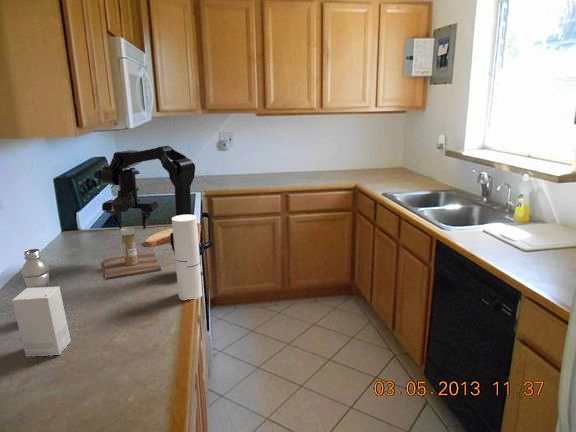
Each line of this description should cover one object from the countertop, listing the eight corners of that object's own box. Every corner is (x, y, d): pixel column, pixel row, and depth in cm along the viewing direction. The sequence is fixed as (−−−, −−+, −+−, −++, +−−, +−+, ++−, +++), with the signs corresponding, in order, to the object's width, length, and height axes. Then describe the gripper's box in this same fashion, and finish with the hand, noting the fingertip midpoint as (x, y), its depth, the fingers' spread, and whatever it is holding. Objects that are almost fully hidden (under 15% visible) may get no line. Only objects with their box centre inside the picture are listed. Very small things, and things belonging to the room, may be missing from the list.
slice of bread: (142, 248, 173) (141, 240, 172) (149, 234, 190) (148, 226, 189) (187, 245, 176) (186, 237, 174) (189, 232, 193) (189, 224, 192)
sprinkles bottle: (135, 265, 152) (131, 230, 148) (123, 266, 151) (118, 230, 148) (139, 261, 156) (135, 226, 152) (127, 261, 156) (122, 226, 152)
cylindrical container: (182, 290, 135) (175, 214, 128) (204, 290, 134) (199, 214, 127) (175, 300, 128) (168, 221, 121) (199, 300, 127) (193, 221, 121)
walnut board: (161, 270, 150) (160, 267, 150) (106, 280, 143) (105, 277, 142) (153, 254, 166) (153, 251, 165) (103, 262, 158) (103, 259, 158)
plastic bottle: (29, 326, 114) (15, 257, 108) (32, 315, 120) (19, 249, 114) (56, 321, 116) (44, 253, 111) (58, 310, 122) (46, 245, 117)
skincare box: (71, 342, 107) (62, 285, 102) (59, 357, 100) (48, 298, 96) (38, 343, 106) (26, 286, 102) (23, 358, 100) (10, 299, 96)
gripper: (90, 191, 143) (96, 234, 148) (142, 192, 141) (147, 236, 145) (107, 184, 154) (113, 225, 158) (156, 185, 152) (160, 226, 156)
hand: (132, 228), depth 154 cm, fingers open, 9 cm apart
